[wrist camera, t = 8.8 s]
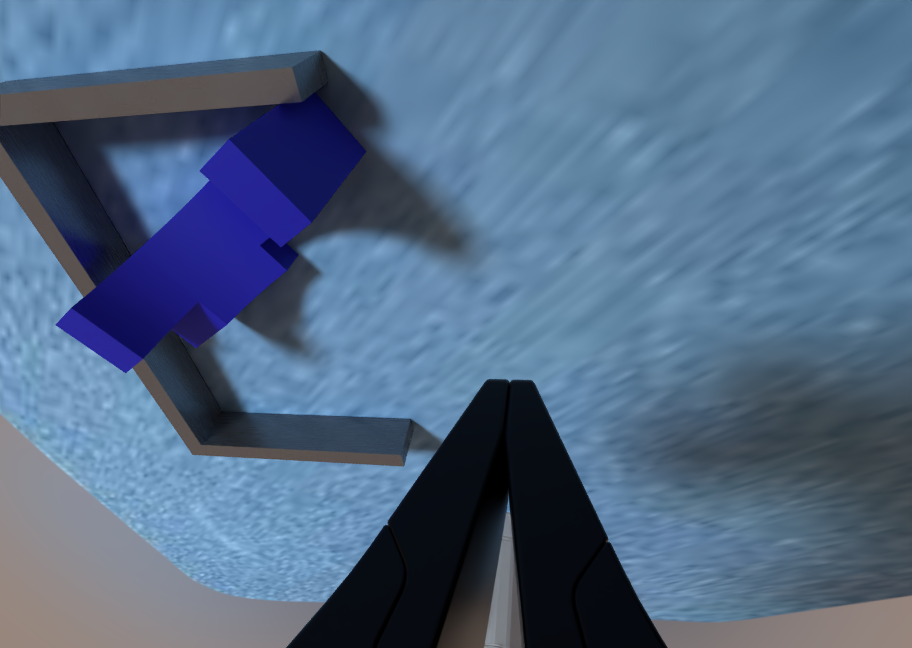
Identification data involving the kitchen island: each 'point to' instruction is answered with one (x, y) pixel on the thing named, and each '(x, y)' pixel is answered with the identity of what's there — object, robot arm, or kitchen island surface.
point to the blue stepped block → (221, 236)
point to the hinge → (504, 598)
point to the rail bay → (102, 251)
